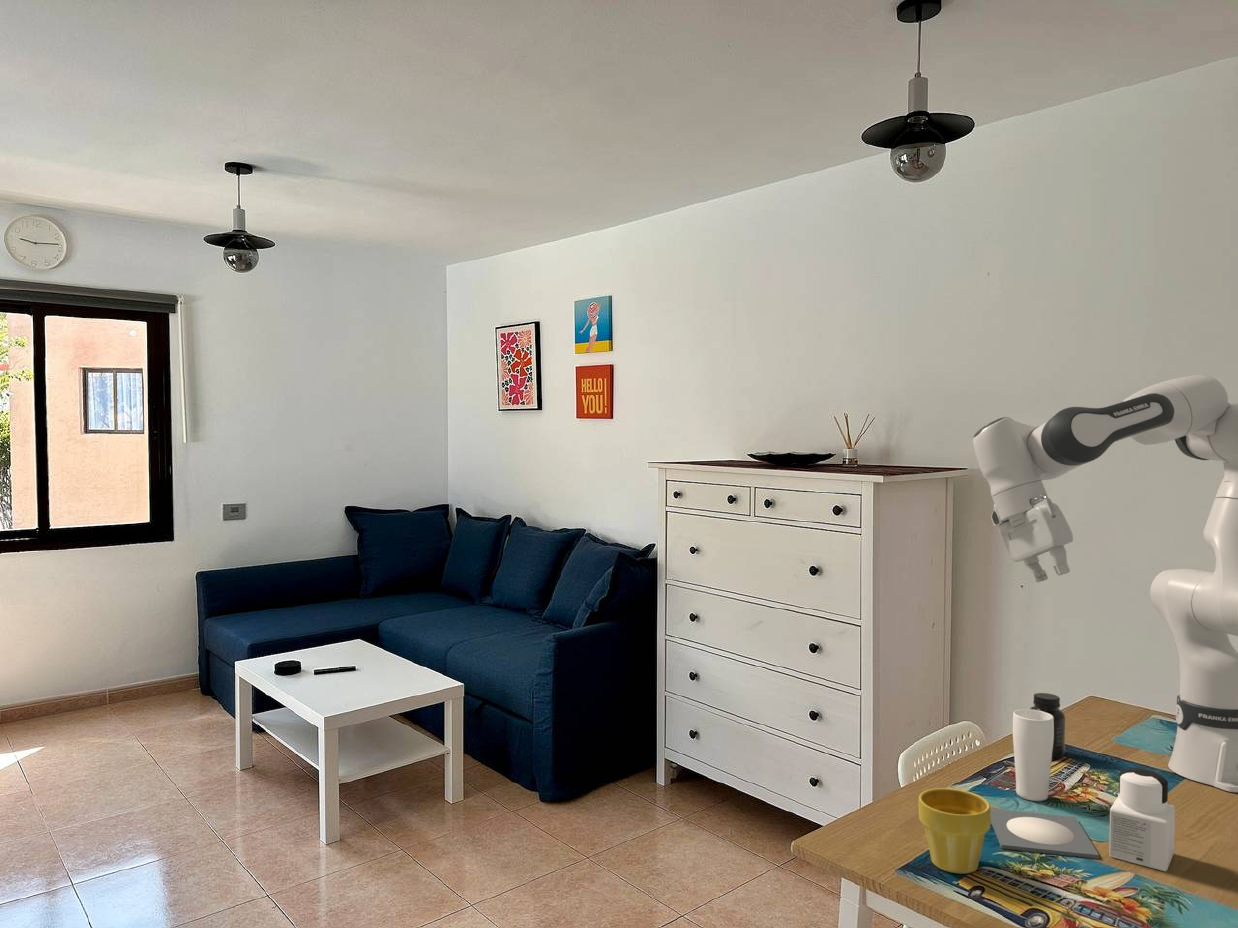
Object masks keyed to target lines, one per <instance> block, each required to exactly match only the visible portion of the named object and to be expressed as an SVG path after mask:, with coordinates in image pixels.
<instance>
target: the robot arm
mask: <svg viewBox="0 0 1238 928" xmlns="http://www.w3.org/2000/svg"><path fill="white" fill-rule="evenodd" d="M1228 397H1229V396H1228V393H1227V390H1226V388H1225V386H1224V385H1223V384H1222V383H1221V381H1219V380H1218V379H1216V378H1214V377H1212V376H1209V375H1205V374H1196V375H1188V376H1182V377H1177V378H1176V377H1175V378H1172V379H1168V380H1163V381H1160V382H1157V383H1155V384H1152V385H1149V386H1147V387H1144V388H1142V389H1140V390H1138V391H1136V392H1134V393H1133V394H1130V395H1129V396H1128V397H1126V398H1125V399H1123V401H1120V402H1117V403H1115V404H1112V405H1111V404H1110V405H1109V406H1104V407H1085V406H1071V407H1066V408H1063V409H1061V410H1059V411H1057V413H1055V414H1054V415H1053V416H1052V417H1051V418H1049V420H1047V421H1046V422H1044V423H1043V424H1041V425H1031V424H1027V423H1021V422H1018V421H1016V420H1014V419H1012V418H1011V416H1010V417H1009V416H1004V417H1000V418H997V419H995V420H993V421H991V422H989V423H988V424H987V425H984V426H982V427H981V428H979V429H978V430H977V431H976V433H974V435H973V436H972V437H973V438H972V444H973V445H972V446H973V450H974V455H975V457H976V458H975V459H976V461H977V464H978V466H979V468H980V471H981V473H982V476H983V477H984V479H985V480H986V481H987V483H988V486H989V488H990V496H991V499H992V501H993V511H992V513H991V516H990V519H991V522H992V524H993V526H995V527H998V533H999V535H1000V538H1001V541H1002V543H1003V545H1004V548H1005V549H1006V552H1007V554H1008V556H1009V557H1010V558H1011V559H1012V561H1013V562H1015V563H1018V562H1024V564H1025V565H1024V566H1025V567H1026V568H1027V569H1028V571H1029V572H1030V573H1031V574H1032V576H1033V579H1034V582H1036V583H1041V582H1044V581H1047V580H1049V579H1048V577H1049V576H1048V575H1047V572H1046V570H1045V569H1043V568H1042V566H1041V564H1040V559H1039V557H1038V556H1040V555H1043V554H1045V553H1048V552H1049V554H1050V556H1051V557H1052V559H1053V563H1054V565H1053V566H1052V567H1053V569H1054V571H1055V575H1056V576H1063V575H1065V574H1069V573H1070V567H1069V564H1068V560H1067V551H1066V548H1065V545H1068V544H1070V543H1072V542H1073V541H1074V537H1073V536H1074V535H1073V532H1072V529H1071V527H1070V526H1069V522H1068V521H1067V519H1066V518H1065V515H1064V513H1063V511H1062V510H1061V508H1060V506H1059V505H1058V504H1057V503H1055V502H1052V499H1051V498H1049V496H1048V493H1047V490H1046V488H1045V486H1044V484H1043V482H1042V481H1046V480H1053V479H1054V480H1055V479H1056V478H1059V477H1060V476H1061V477H1062V475H1064V474H1067V473H1068V472H1070V471H1072V470H1074V469H1076V468H1078V467H1081V466H1082V465H1085V464H1087V463H1090V462H1093V461H1095V460H1096V459H1098V458H1099V457H1101V456H1102V455H1103V454H1105V453H1106V452H1107V450H1108V449H1109V448H1110V447H1111V446H1112V445H1113V444H1114V443H1116V442H1118V441H1122V440H1124V439H1128V438H1131V439H1132V440H1134V441H1135V442H1137V443H1139V444H1141V445H1144V446H1148V445H1149V446H1150V445H1157V444H1162V443H1168V442H1172V441H1175V444H1176V446H1177V448H1178V449H1179V451H1180V452H1181V453H1182V454H1184V455H1185V456H1186V457H1189V458H1193V459H1195V460H1200V461H1215V462H1216V461H1217V462H1219V461H1220V462H1222V464H1223V469H1224V473H1223V475H1224V476H1223V478H1222V480H1221V481H1220V484H1219V487H1218V489H1217V492H1216V494H1215V497H1214V499H1213V502H1212V505H1211V508H1210V511H1209V514H1208V517H1207V520H1206V523H1205V526H1204V528H1203V533H1202V535H1203V536H1202V537H1203V540H1204V543H1206V545H1208V547H1209V548H1210V549H1211V550H1212V551H1214V554H1215V567H1214V571H1213V572H1212V571H1207V570H1202V569H1196V568H1189V567H1187V568H1184V567H1183V568H1171V569H1165V570H1162V571H1161V572H1160V573H1158V574H1157V575H1156V576H1155V577H1154V579H1153V580H1152V583H1151V585H1150V588H1149V589H1150V590H1149V597H1150V602H1151V604H1152V606H1153V608H1154V609H1155V610H1156V611H1157V612H1158V613H1159V614H1160V615H1161V616H1162V618H1163V620H1164V621H1165V622H1166V624H1167V626H1168V628H1169V630H1170V632H1171V635H1172V637H1173V640H1174V643H1175V646H1176V651H1177V654H1178V663H1179V665H1178V666H1179V694H1178V695H1177V696H1176V704H1175V720H1176V723H1175V724H1176V725H1177V729H1176V736H1175V741H1174V746H1173V749H1172V753H1171V756H1170V759H1169V761H1168V764H1167V766H1168V768H1169V769H1170V770H1171V771H1172V772H1174V773H1176V774H1177V775H1179V776H1181V777H1184V778H1186V779H1189V780H1191V781H1195V782H1198V783H1201V784H1205V785H1209V786H1212V787H1215V788H1218V789H1220V790H1223V791H1227V792H1229V793H1238V651H1237V650H1236V649H1235V647H1234V646H1233V644H1232V642H1231V641H1230V638H1229V636H1228V635H1231V636H1236V637H1238V403H1235V402H1234V403H1233V402H1232V403H1230V402H1229V398H1228Z"/></svg>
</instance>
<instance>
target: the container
mask: <svg viewBox="0 0 1238 928" xmlns="http://www.w3.org/2000/svg"><path fill="white" fill-rule="evenodd" d="M1168 790H1169V782H1168V780H1167V779H1166V777H1164V776H1163V775H1161V774H1159V773H1157V772H1156V771H1152V770H1148V769H1144V768H1140V767H1139V768H1137V767H1135V768H1134V767H1133V768H1127V769H1123V770H1121V771H1120V772H1119V773H1118V796H1117V797H1116V798H1115V800H1114V803H1113V804H1112V805H1111V807H1110V809H1109V840H1108V842H1109V846H1108V847H1109V848H1108V849H1109V850H1108V851H1109V852H1108V855H1109V856H1110V857H1111V858H1114V859H1118V860H1121V861H1124V862H1128V863H1132V864H1135V865H1136V864H1137V865H1139V866H1143V867H1147V868H1149V869H1154V870H1158V871H1162V872H1168V869H1169V866H1170V864H1171V861H1172V859H1173V856H1174V854H1175V828H1176V827H1175V824H1176V823H1175V818H1176V807H1175V806H1174V805H1173V804H1168V802H1169V801H1168V800H1169V799H1168V795H1169V791H1168Z"/></svg>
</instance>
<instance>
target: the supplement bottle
mask: <svg viewBox="0 0 1238 928" xmlns="http://www.w3.org/2000/svg"><path fill="white" fill-rule="evenodd" d="M1060 707H1061V698H1060V697H1059V695H1056V694H1052V693H1048V692H1038V693H1036V692H1035V693H1034V694H1033V706H1031V707H1030V708H1029V709H1032V710H1039V711H1043V712H1046V713H1049V714H1051V715H1052V716H1053V717H1054V742H1053V751H1052V760H1060V759H1062V758H1064V756H1065V748H1066V747H1065V745H1066V742H1065V741H1066V740H1065V739H1066V737H1065V736H1066V716H1065V713H1064V712H1063V711H1062V710H1061V709H1060Z"/></svg>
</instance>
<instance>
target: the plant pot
mask: <svg viewBox="0 0 1238 928" xmlns="http://www.w3.org/2000/svg"><path fill="white" fill-rule="evenodd" d="M917 800H918V819H919V821H920V822H921V824H922V825H923V828H924V832H925V836H926V840H927V845H928V850H929V855H930V860H931V863H932V864H933V865H934V866H935V867H937V868H939V869H940V870H943V871H946V872H948V873H951V874H952V873H953V874H960V875H961V874H962V875H963V874H971V873H973V872H976V870H977V869H978V868H979V862H980V859H981V853H982V849H983V845H984V841H985V837H986V836H985V835H986V833H988V832H989V831H990V829H991V809H992V808H991V805H990V803H989V802H988V800H987V799H985V798H984V797H982V796H980V795H979V794H977V793H974V792H971V791H968V790H964V789H963V790H962V789H958V788H950V787H949V788H948V787H937V788H930V789H926V790H923V791H922V792H921V793H920V794H919V796H918V799H917Z"/></svg>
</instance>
